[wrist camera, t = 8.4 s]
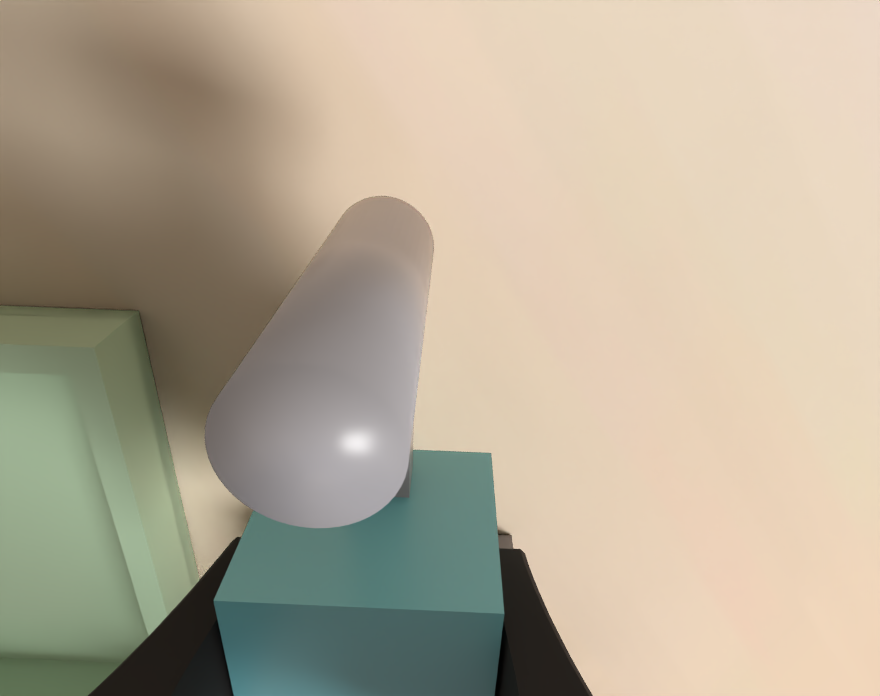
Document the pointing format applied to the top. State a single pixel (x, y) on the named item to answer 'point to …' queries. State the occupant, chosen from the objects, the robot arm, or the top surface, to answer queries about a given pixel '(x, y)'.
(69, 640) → the tray
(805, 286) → the top surface
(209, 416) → the cyan and grey piece
